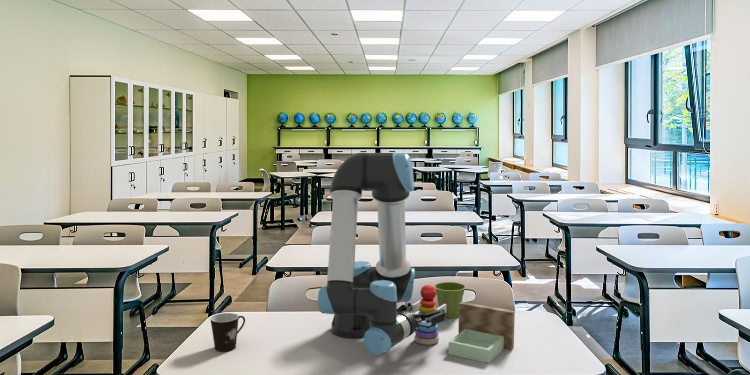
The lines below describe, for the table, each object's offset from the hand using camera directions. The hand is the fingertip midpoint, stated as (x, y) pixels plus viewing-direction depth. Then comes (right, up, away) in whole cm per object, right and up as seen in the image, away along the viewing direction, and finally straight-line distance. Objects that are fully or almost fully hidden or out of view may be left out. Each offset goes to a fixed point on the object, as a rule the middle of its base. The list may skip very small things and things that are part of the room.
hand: (433, 305), depth 188 cm
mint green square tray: (+12, -12, -11) cm, 20 cm away
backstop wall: (+16, -11, -5) cm, 20 cm away
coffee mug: (-65, -12, -8) cm, 67 cm away
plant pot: (+8, -8, +22) cm, 25 cm away
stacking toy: (-2, -11, -3) cm, 12 cm away
